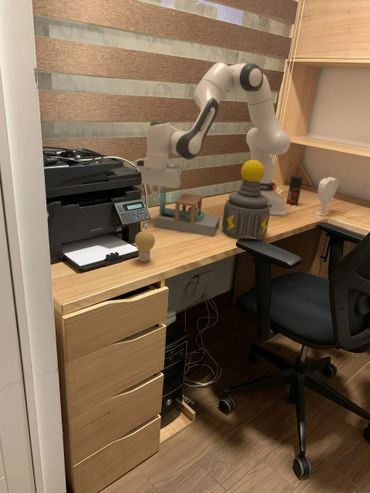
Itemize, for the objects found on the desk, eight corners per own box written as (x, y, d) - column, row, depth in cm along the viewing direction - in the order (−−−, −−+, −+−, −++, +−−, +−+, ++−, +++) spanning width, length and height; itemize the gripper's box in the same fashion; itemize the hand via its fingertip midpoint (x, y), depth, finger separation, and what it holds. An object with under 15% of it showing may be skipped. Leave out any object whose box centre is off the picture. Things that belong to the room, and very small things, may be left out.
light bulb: (140, 265, 121) (141, 236, 117) (130, 258, 125) (131, 230, 122) (157, 262, 124) (159, 233, 120) (147, 254, 129) (148, 227, 125)
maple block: (198, 217, 159) (199, 207, 157) (196, 219, 155) (197, 210, 154) (189, 215, 159) (189, 206, 158) (186, 218, 156) (187, 209, 154)
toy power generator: (275, 235, 158) (288, 162, 146) (248, 244, 145) (260, 166, 134) (239, 222, 170) (249, 154, 158) (211, 230, 157) (220, 157, 146)
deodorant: (299, 204, 206) (304, 177, 200) (294, 206, 201) (299, 178, 196) (289, 202, 209) (294, 175, 203) (284, 203, 205) (289, 176, 199)
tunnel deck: (218, 225, 163) (222, 198, 159) (213, 236, 150) (217, 207, 146) (164, 217, 168) (166, 190, 163) (154, 226, 155) (156, 198, 150)
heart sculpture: (320, 217, 187) (328, 181, 180) (310, 214, 190) (318, 179, 184) (332, 211, 198) (341, 177, 191) (323, 209, 201) (331, 175, 194)
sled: (203, 216, 159) (206, 193, 156) (200, 221, 153) (203, 197, 150) (161, 209, 163) (162, 187, 159) (156, 214, 157) (158, 191, 153)
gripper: (183, 164, 153) (181, 197, 159) (136, 158, 157) (135, 191, 163) (180, 167, 148) (177, 201, 153) (130, 160, 152) (129, 194, 157)
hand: (155, 196), depth 158 cm, fingers closed
